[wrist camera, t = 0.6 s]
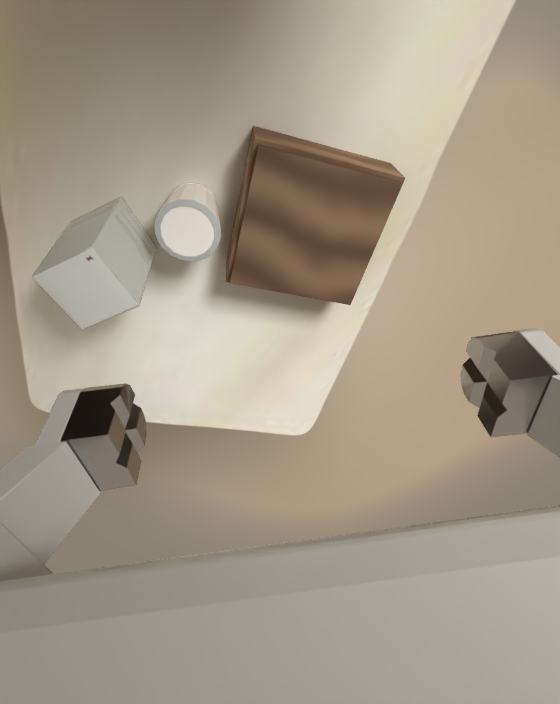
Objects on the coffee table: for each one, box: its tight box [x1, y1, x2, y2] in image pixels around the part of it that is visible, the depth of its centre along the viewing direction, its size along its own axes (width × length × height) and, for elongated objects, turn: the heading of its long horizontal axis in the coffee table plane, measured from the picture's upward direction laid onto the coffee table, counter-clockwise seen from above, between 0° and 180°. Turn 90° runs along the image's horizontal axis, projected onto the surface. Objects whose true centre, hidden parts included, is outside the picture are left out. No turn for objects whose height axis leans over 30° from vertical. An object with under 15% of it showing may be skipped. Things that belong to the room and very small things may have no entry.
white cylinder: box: [154, 183, 221, 261], centre depth 46 cm, size 7×7×7 cm
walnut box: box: [226, 126, 405, 305], centre depth 48 cm, size 16×16×6 cm
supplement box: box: [32, 197, 156, 330], centre depth 45 cm, size 7×7×13 cm
